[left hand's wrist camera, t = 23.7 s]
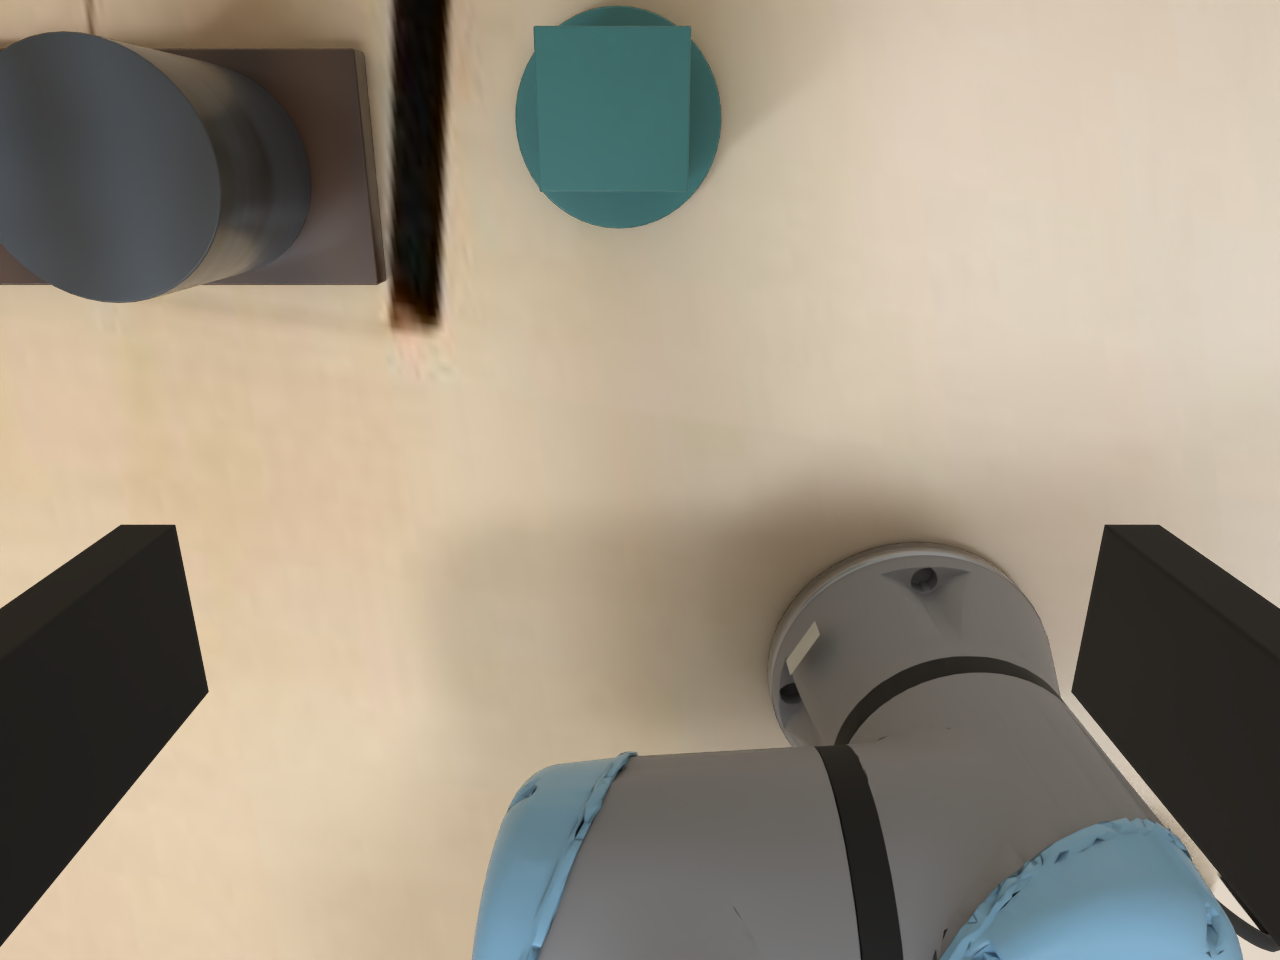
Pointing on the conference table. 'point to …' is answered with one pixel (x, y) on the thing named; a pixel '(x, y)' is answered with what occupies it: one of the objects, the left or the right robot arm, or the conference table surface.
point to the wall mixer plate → (184, 168)
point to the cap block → (617, 116)
